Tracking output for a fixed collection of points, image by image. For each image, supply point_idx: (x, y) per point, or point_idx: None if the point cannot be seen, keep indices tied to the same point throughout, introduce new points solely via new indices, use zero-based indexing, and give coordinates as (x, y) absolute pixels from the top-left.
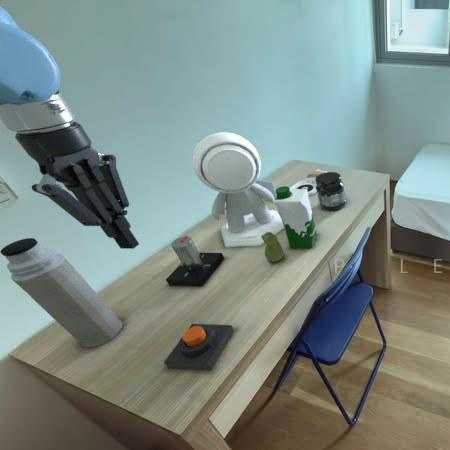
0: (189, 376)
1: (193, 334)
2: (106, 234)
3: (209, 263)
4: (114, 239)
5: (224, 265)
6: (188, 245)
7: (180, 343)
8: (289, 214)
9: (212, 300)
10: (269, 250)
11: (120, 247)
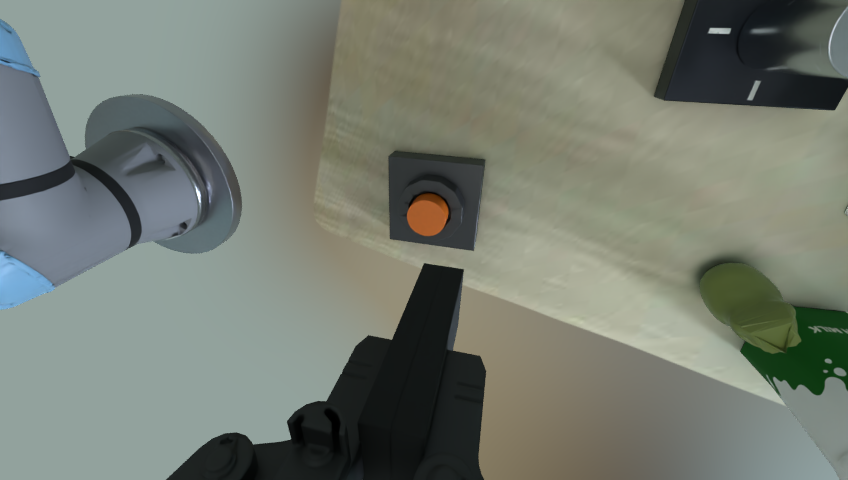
0: (382, 199)
1: (423, 221)
2: (349, 360)
3: (766, 92)
4: (408, 301)
5: (759, 123)
6: (835, 76)
7: (416, 186)
8: (842, 444)
9: (579, 156)
10: (725, 304)
11: (421, 270)
